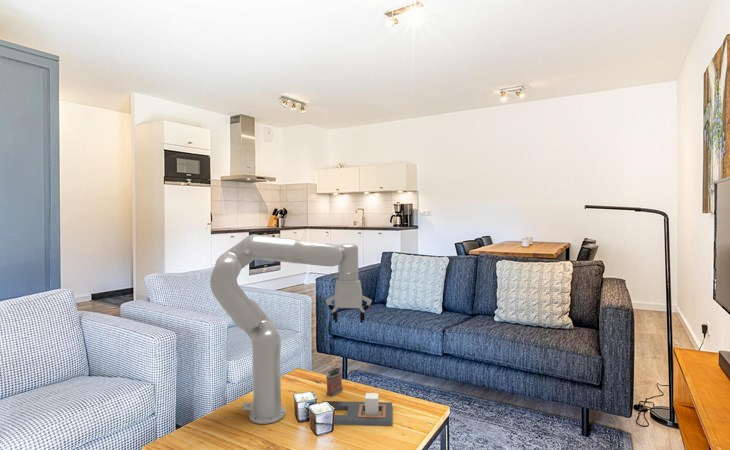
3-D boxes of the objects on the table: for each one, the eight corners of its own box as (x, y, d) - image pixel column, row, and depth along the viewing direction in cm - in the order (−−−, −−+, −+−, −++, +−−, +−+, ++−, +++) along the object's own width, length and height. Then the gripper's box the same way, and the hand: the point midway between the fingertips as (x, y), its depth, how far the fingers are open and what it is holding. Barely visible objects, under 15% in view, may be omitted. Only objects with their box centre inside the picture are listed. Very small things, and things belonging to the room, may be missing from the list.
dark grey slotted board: (315, 424, 141) (315, 419, 141) (322, 404, 155) (322, 400, 155) (392, 425, 139) (392, 420, 139) (392, 406, 153) (392, 401, 153)
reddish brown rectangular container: (337, 387, 170) (337, 363, 169) (344, 389, 168) (343, 365, 167) (324, 395, 163) (324, 369, 163) (331, 397, 161) (330, 371, 161)
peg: (365, 418, 144) (364, 398, 144) (366, 412, 149) (365, 392, 149) (378, 418, 144) (377, 398, 144) (378, 412, 148) (378, 393, 148)
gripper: (323, 278, 152) (324, 324, 153) (370, 278, 151) (371, 325, 152) (327, 275, 160) (327, 319, 160) (371, 275, 159) (372, 319, 159)
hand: (348, 322), depth 156 cm, fingers open, 9 cm apart
